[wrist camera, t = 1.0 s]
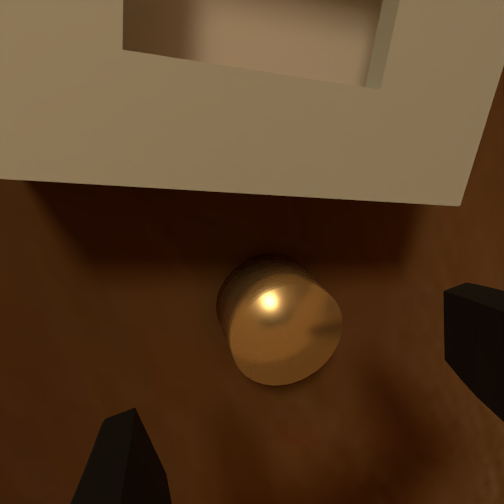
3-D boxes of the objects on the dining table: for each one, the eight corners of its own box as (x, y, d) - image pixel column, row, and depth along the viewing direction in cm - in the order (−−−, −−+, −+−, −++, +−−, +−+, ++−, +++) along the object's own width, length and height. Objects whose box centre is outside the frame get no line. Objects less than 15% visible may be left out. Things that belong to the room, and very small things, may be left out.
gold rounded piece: (319, 254, 18) (353, 283, 16) (302, 340, 20) (330, 380, 17) (221, 252, 17) (239, 285, 14) (211, 345, 19) (226, 390, 16)
